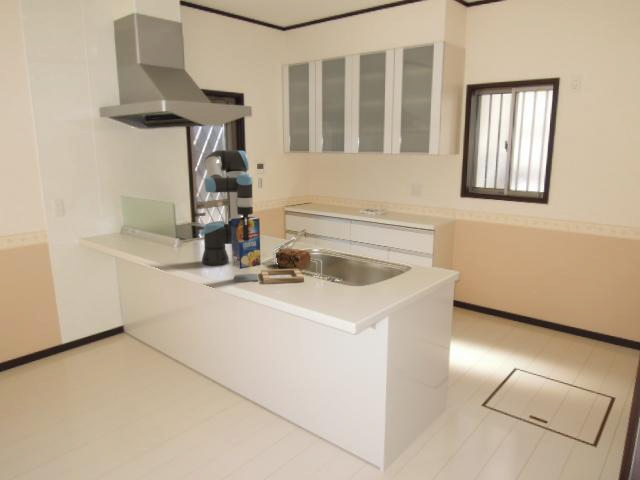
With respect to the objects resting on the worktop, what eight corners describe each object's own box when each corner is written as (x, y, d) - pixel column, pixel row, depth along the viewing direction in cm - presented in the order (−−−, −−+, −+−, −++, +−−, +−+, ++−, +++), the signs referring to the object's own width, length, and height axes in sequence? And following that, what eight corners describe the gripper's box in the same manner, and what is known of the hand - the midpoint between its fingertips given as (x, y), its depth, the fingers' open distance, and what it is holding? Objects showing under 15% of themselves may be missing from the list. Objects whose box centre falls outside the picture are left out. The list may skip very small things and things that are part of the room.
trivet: (235, 276, 236) (235, 274, 236) (256, 275, 238) (256, 273, 238) (235, 282, 226) (235, 280, 225) (258, 281, 228) (258, 279, 228)
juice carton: (240, 269, 224) (238, 220, 219) (232, 266, 229) (230, 218, 225) (260, 265, 231) (259, 218, 227) (253, 262, 237) (251, 216, 232)
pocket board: (261, 273, 241) (261, 270, 241) (298, 272, 245) (298, 268, 245) (263, 283, 224) (263, 279, 224) (304, 281, 228) (304, 277, 228)
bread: (311, 267, 255) (311, 250, 253) (297, 271, 247) (297, 253, 245) (287, 261, 267) (287, 245, 265) (274, 265, 259) (274, 248, 257)
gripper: (236, 204, 232) (237, 248, 237) (237, 208, 215) (238, 256, 220) (251, 203, 233) (252, 248, 238) (253, 208, 217) (254, 256, 222)
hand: (245, 252), depth 229 cm, fingers open, 4 cm apart
